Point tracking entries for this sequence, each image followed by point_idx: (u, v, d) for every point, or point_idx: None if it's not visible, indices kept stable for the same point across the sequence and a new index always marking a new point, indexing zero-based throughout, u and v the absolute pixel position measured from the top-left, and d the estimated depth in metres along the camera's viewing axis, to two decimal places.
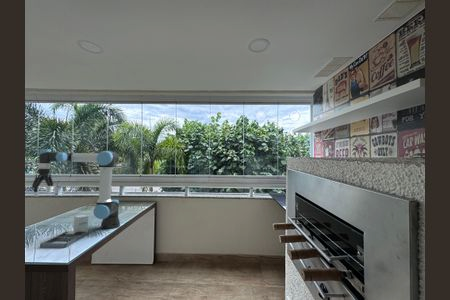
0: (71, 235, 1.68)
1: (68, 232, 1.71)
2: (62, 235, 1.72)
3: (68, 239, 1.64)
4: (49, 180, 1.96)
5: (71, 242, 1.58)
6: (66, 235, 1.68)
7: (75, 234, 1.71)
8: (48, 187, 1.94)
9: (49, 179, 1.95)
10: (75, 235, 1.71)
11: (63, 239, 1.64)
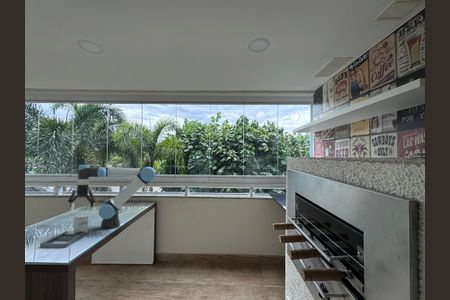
0: (71, 235, 1.68)
1: (68, 232, 1.71)
2: (62, 235, 1.72)
3: (68, 239, 1.64)
4: None
5: (71, 242, 1.58)
6: (66, 235, 1.68)
7: (75, 234, 1.71)
8: None
9: None
10: (75, 235, 1.71)
11: (63, 239, 1.64)
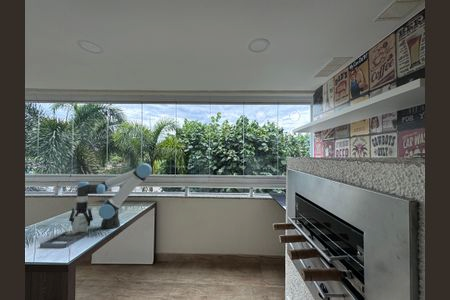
0: (71, 235, 1.68)
1: (68, 232, 1.71)
2: (62, 235, 1.72)
3: (68, 239, 1.64)
4: None
5: (71, 242, 1.58)
6: (66, 235, 1.68)
7: (75, 234, 1.71)
8: None
9: (89, 214, 1.85)
10: (75, 235, 1.71)
11: (63, 239, 1.64)
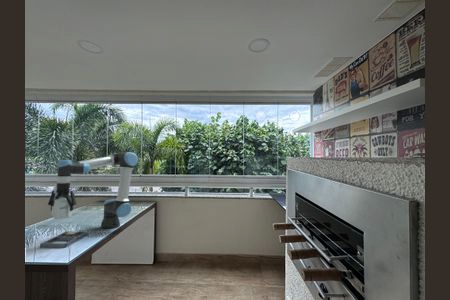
0: (70, 235, 1.68)
1: (68, 232, 1.71)
2: (62, 235, 1.72)
3: (68, 239, 1.64)
4: None
5: (71, 242, 1.58)
6: (66, 235, 1.68)
7: (75, 234, 1.70)
8: None
9: None
10: (75, 235, 1.70)
11: (63, 239, 1.64)
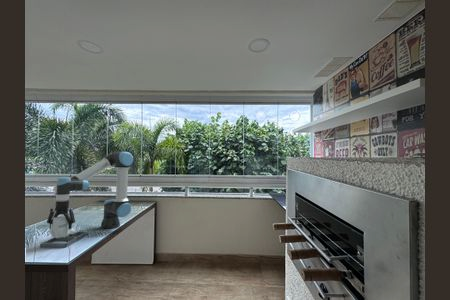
0: (70, 235, 1.68)
1: None
2: None
3: (68, 239, 1.64)
4: None
5: (71, 242, 1.58)
6: None
7: (74, 234, 1.70)
8: None
9: None
10: (74, 235, 1.70)
11: (63, 239, 1.64)
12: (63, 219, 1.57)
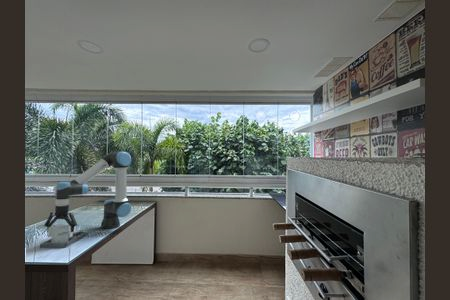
0: None
1: None
2: None
3: (68, 239, 1.64)
4: None
5: (71, 242, 1.58)
6: None
7: (74, 234, 1.70)
8: None
9: None
10: (74, 235, 1.70)
11: None
12: (63, 227, 1.57)
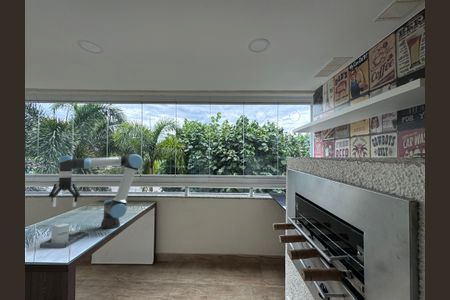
0: (70, 235, 1.68)
1: (69, 232, 1.72)
2: None
3: (68, 239, 1.64)
4: None
5: (71, 242, 1.58)
6: None
7: (74, 234, 1.70)
8: None
9: None
10: (74, 235, 1.70)
11: None
12: (63, 227, 1.57)
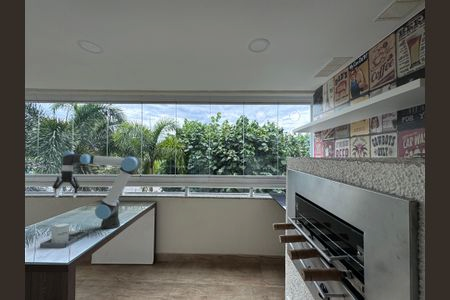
0: (69, 235, 1.68)
1: (69, 232, 1.72)
2: None
3: (68, 239, 1.64)
4: None
5: (71, 242, 1.58)
6: None
7: (74, 234, 1.70)
8: None
9: (75, 182, 1.88)
10: (74, 235, 1.70)
11: None
12: (63, 227, 1.57)
